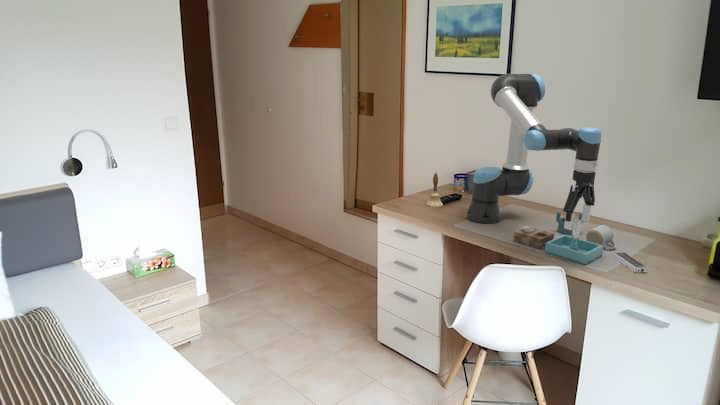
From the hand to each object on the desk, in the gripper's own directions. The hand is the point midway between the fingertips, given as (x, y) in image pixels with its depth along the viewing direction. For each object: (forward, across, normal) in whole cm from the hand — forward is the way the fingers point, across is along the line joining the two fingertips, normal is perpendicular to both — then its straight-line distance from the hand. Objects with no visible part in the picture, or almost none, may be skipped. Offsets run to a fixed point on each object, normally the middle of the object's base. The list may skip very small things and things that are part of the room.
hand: (576, 225), depth 202 cm
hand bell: (+13, +10, +76) cm, 78 cm away
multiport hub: (+12, +6, -19) cm, 23 cm away
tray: (+11, 0, 0) cm, 12 cm away
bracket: (+12, +23, +14) cm, 29 cm away
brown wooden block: (+12, 0, +16) cm, 20 cm away
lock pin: (+11, 0, 0) cm, 11 cm away
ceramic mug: (+12, +17, -4) cm, 21 cm away
